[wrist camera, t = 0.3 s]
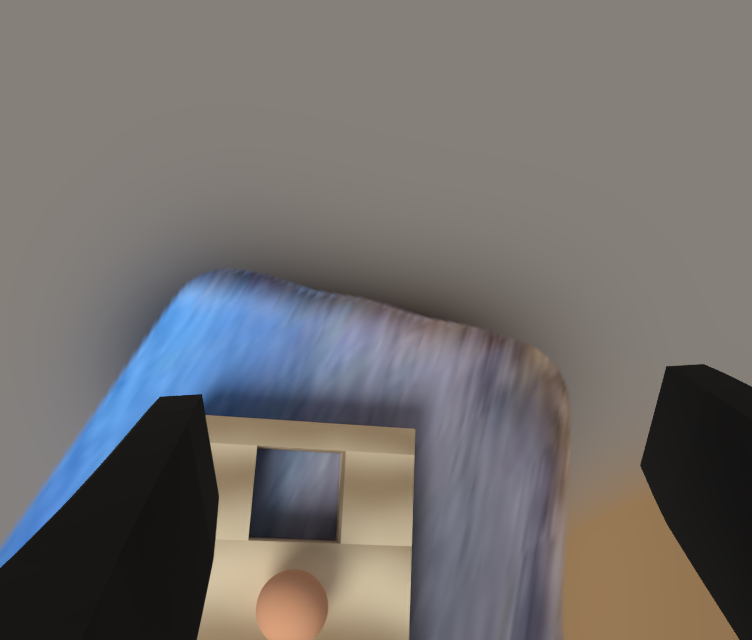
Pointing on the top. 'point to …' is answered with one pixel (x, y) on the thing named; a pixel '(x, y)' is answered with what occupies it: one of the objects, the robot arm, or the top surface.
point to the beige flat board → (317, 557)
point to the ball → (292, 606)
